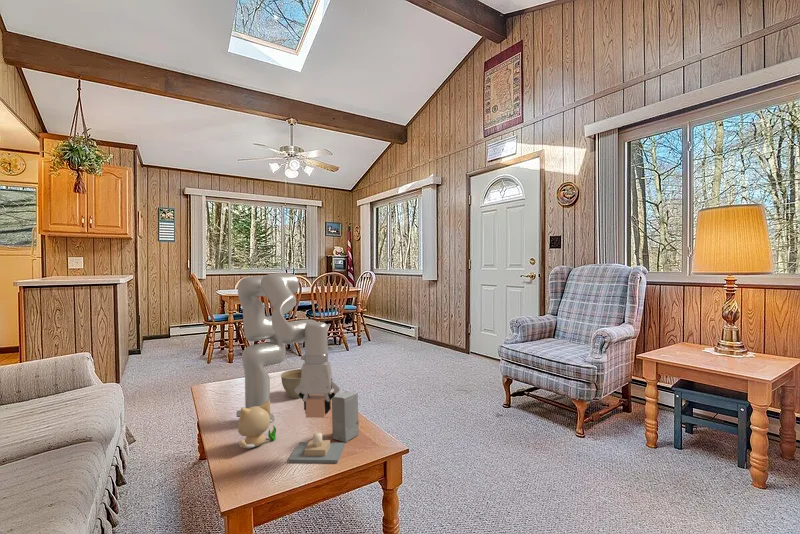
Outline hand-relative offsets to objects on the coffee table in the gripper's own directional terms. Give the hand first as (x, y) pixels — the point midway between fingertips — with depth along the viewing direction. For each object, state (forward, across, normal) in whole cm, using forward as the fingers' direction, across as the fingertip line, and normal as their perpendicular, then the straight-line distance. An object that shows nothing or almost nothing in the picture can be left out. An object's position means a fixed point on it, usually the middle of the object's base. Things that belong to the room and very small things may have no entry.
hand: (317, 411), depth 128 cm
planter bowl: (+14, -26, +58) cm, 65 cm away
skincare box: (+15, +7, +13) cm, 21 cm away
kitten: (+14, -24, +6) cm, 29 cm away
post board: (+14, 0, 0) cm, 14 cm away
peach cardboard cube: (+1, 0, 0) cm, 1 cm away
